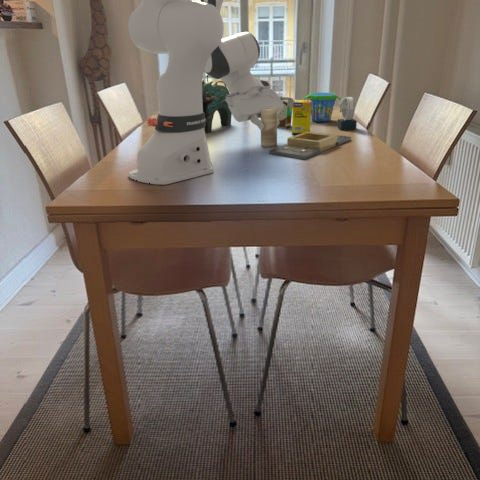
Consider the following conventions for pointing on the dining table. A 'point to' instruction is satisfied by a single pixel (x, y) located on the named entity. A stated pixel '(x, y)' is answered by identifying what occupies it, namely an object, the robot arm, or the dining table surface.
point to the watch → (347, 114)
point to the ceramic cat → (215, 104)
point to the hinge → (308, 144)
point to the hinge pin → (269, 127)
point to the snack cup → (322, 106)
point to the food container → (285, 113)
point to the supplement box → (301, 116)
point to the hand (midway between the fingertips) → (270, 126)
